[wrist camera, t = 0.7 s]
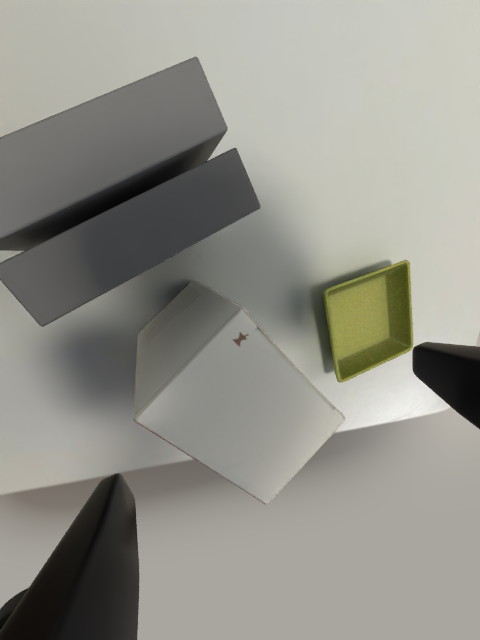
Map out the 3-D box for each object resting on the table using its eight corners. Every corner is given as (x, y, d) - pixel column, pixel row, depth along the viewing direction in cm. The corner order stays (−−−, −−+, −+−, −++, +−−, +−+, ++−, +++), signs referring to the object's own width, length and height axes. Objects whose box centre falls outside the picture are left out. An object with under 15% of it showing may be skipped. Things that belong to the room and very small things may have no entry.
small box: (136, 332, 19) (124, 420, 9) (193, 276, 19) (241, 302, 9) (213, 396, 22) (266, 511, 12) (261, 347, 22) (350, 421, 12)
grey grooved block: (97, 287, 17) (41, 327, 8) (48, 220, 15) (-94, 174, 6) (204, 229, 18) (261, 207, 9) (169, 162, 17) (197, 53, 8)
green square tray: (390, 258, 24) (411, 258, 22) (395, 342, 27) (414, 349, 25) (308, 286, 22) (324, 289, 20) (323, 374, 25) (338, 384, 23)
